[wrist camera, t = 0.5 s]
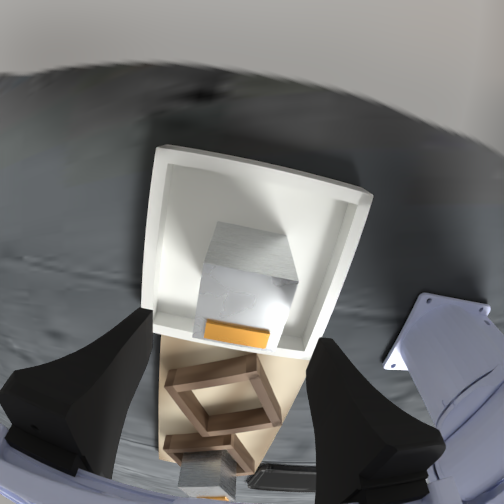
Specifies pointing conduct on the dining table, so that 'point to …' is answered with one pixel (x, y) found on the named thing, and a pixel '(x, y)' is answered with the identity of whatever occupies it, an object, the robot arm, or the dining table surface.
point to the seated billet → (208, 475)
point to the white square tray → (253, 216)
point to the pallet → (223, 400)
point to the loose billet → (245, 288)
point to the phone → (284, 478)
